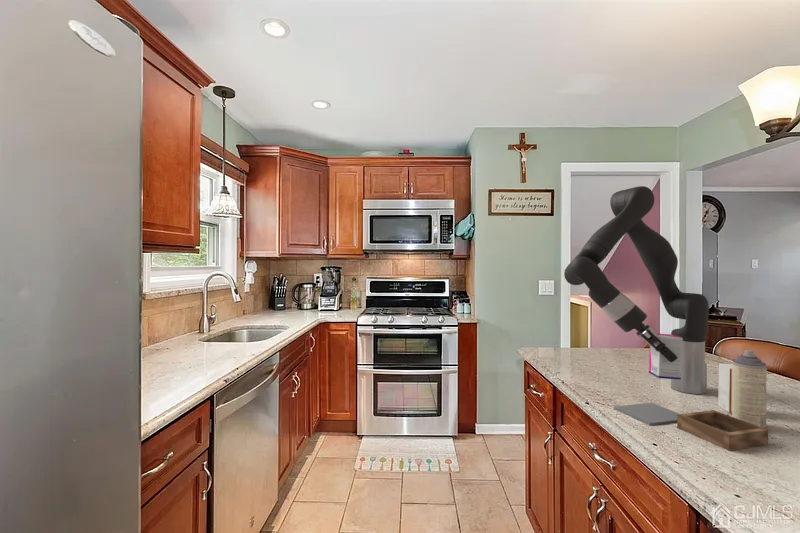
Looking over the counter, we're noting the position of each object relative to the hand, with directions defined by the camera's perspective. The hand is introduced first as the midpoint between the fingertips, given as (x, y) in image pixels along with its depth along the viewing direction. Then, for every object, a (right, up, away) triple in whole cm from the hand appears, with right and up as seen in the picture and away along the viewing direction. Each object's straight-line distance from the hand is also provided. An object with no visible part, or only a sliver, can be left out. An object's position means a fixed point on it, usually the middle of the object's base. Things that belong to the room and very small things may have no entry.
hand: (671, 357), depth 103 cm
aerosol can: (+18, -18, -3) cm, 25 cm away
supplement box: (-1, -6, +1) cm, 6 cm away
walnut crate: (+5, -17, -10) cm, 21 cm away
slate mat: (-3, -17, +4) cm, 18 cm away
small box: (+25, -18, +7) cm, 31 cm away
